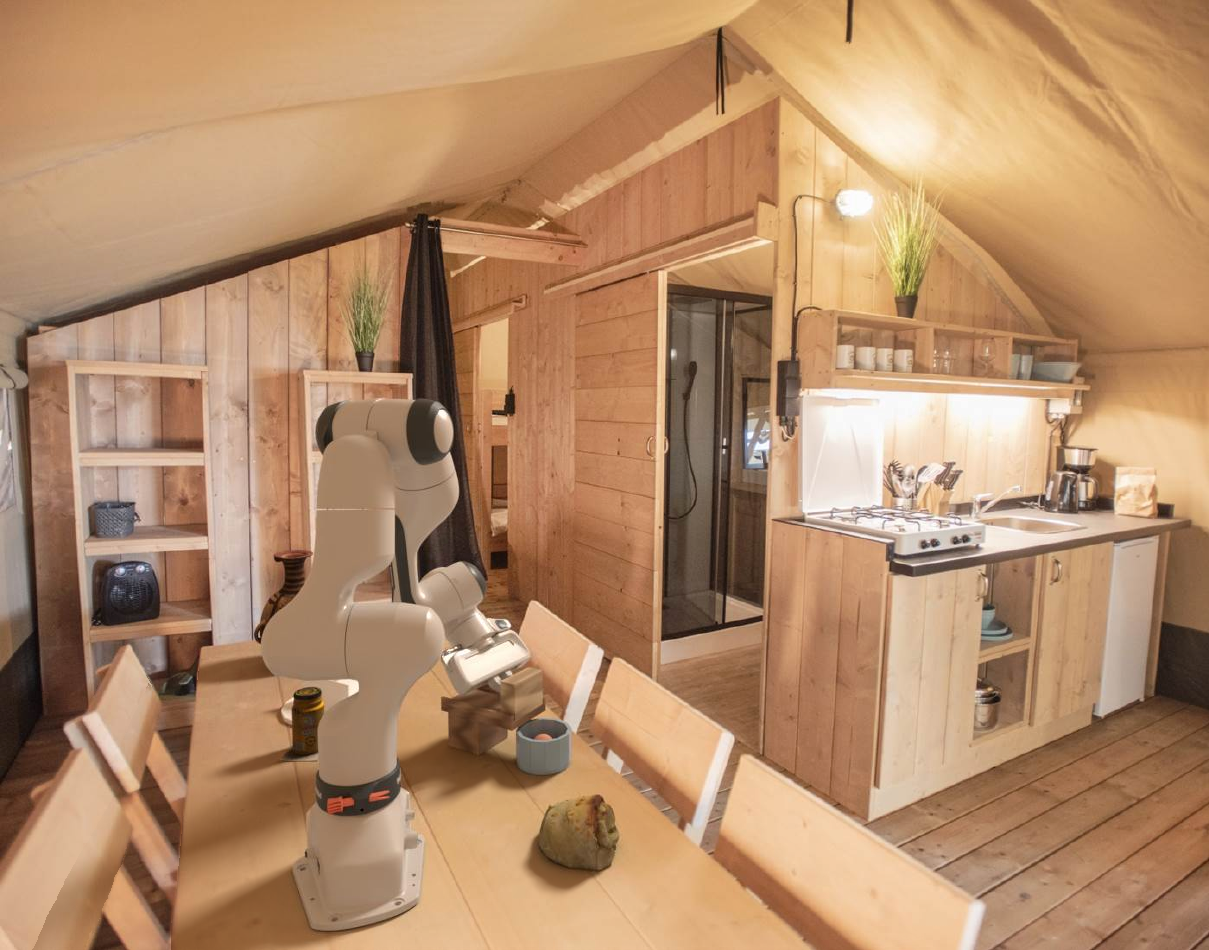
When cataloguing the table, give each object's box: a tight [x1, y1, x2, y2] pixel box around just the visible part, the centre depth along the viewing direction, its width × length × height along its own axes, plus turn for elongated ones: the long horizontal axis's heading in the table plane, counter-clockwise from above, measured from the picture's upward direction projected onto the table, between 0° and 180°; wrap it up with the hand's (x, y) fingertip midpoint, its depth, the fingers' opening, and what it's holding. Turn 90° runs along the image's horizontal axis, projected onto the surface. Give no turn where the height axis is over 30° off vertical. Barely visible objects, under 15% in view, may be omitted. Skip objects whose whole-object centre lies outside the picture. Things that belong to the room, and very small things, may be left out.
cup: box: [515, 717, 573, 776], centre depth 135 cm, size 10×10×6 cm
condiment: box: [279, 687, 324, 762], centre depth 139 cm, size 7×8×12 cm
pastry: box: [538, 793, 620, 872], centre depth 109 cm, size 14×12×8 cm
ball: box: [534, 734, 552, 740], centre depth 136 cm, size 4×4×4 cm
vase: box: [253, 549, 314, 645], centre depth 189 cm, size 21×18×30 cm
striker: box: [500, 666, 544, 720], centre depth 138 cm, size 4×9×7 cm, turn 149°
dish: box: [280, 679, 359, 726], centre depth 162 cm, size 25×25×11 cm
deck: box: [440, 683, 546, 756], centre depth 142 cm, size 18×11×10 cm, turn 59°
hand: (511, 695), depth 139 cm, fingers closed, pressing on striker
